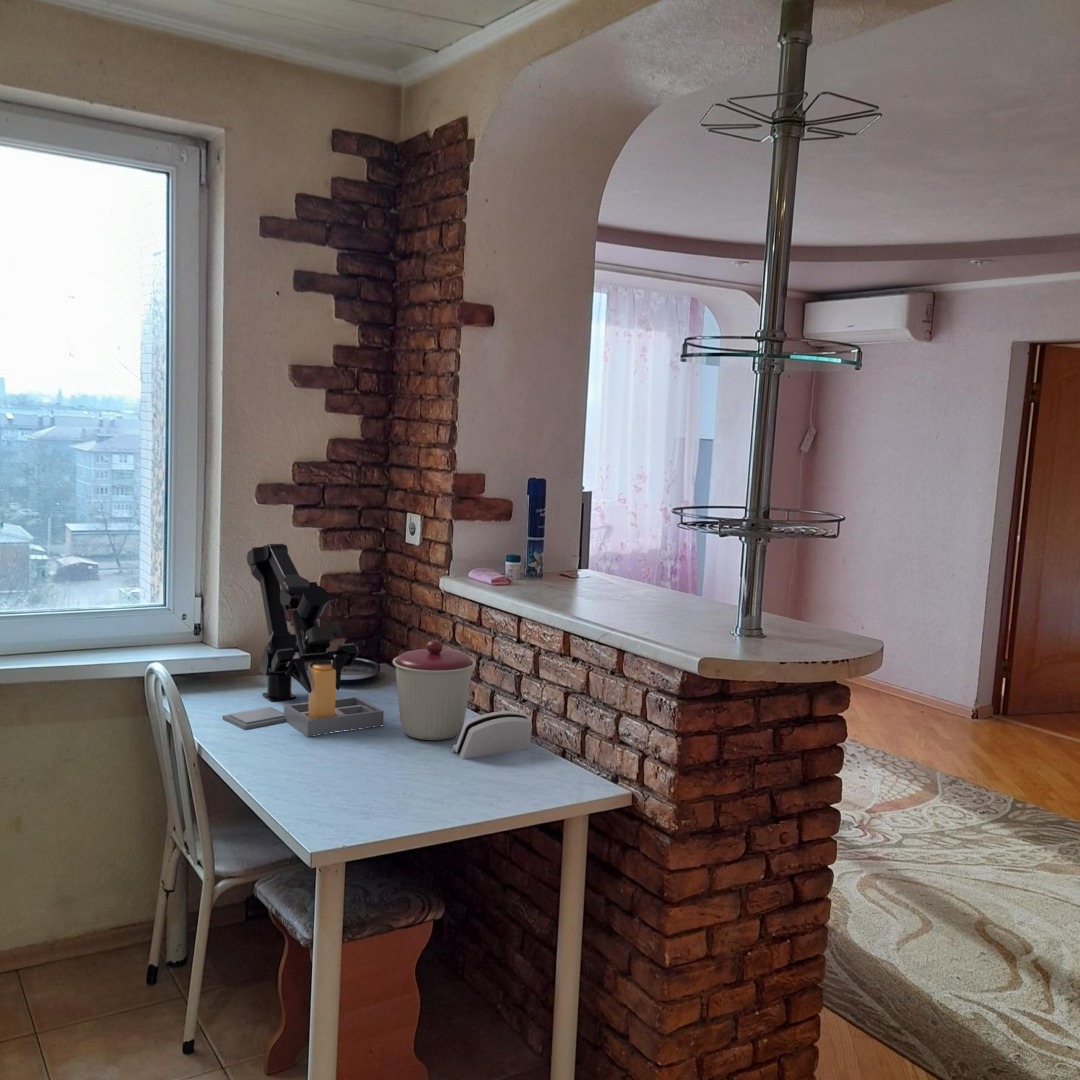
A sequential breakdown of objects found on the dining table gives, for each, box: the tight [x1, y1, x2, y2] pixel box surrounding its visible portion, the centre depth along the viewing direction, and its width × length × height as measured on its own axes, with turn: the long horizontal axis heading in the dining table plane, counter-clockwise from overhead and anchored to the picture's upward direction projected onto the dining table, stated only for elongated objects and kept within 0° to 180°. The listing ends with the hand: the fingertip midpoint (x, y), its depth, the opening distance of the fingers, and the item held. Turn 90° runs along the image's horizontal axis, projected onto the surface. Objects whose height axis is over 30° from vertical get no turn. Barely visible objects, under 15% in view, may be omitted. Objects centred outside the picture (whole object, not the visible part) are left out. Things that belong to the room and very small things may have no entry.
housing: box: [283, 695, 385, 737], centre depth 233 cm, size 14×18×4 cm
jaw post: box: [307, 662, 337, 719], centre depth 228 cm, size 4×4×13 cm
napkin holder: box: [451, 710, 533, 760], centre depth 217 cm, size 17×5×10 cm, turn 123°
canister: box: [392, 639, 476, 741], centre depth 227 cm, size 18×18×21 cm
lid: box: [222, 706, 287, 730], centre depth 233 cm, size 10×12×1 cm
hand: (324, 690), depth 226 cm, fingers open, 6 cm apart
